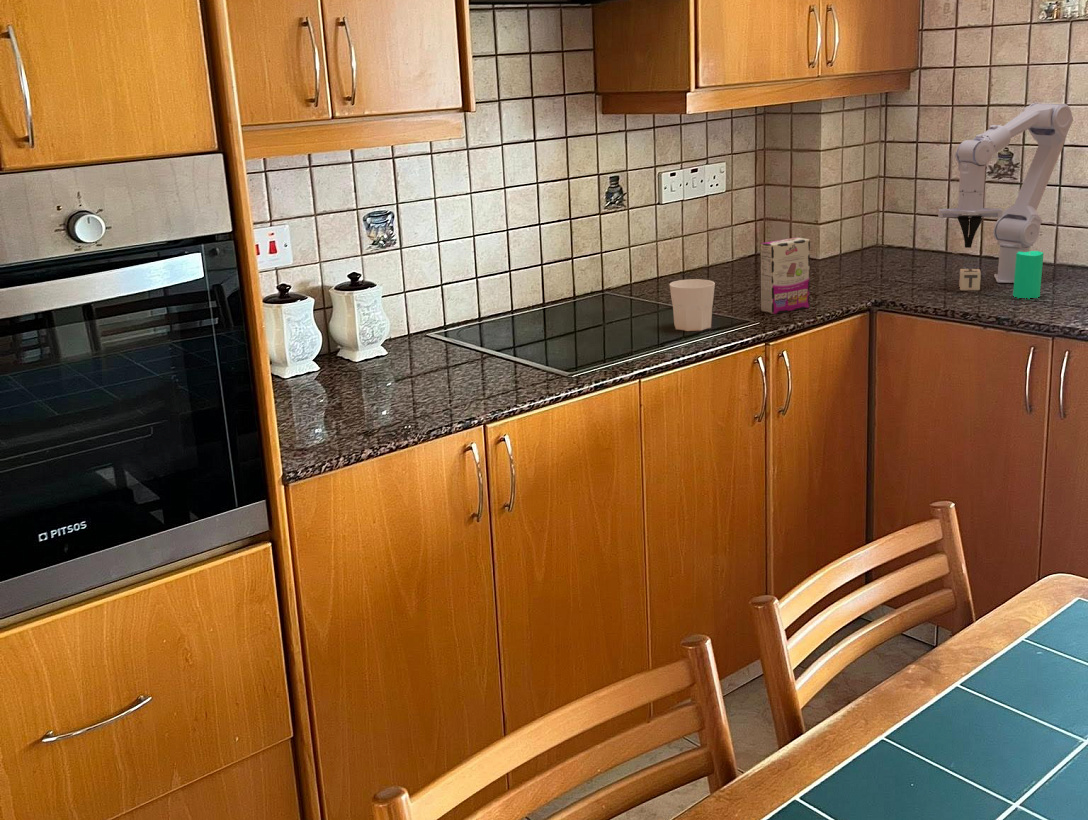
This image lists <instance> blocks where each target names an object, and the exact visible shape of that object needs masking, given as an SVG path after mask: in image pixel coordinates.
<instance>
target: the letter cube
mask: <svg viewBox="0 0 1088 820" xmlns="http://www.w3.org/2000/svg"><path fill="white" fill-rule="evenodd" d="M981 274H982V272H981V270H980V268H960V269H959V282H958V284H959V286H958V287H960V288H959V290H960V291H980V290H981Z"/></svg>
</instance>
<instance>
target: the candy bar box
mask: <svg viewBox="0 0 1088 820" xmlns="http://www.w3.org/2000/svg"><path fill="white" fill-rule="evenodd" d="M810 244H811V239H810V238H803V237H797V236H796V237H792V238H786V239H778V240H774V241H773V240H772V241H767V242H761V243H760V246H759V247H760V311H761V312H763V313H767V314H771V315H777V314H781V313H786V312H792V311H797V310H802V309H803V310H804V309H808V308H810V296H811V295H810V289H811V288H810V286H811V284H810V281H811V279H810V275H811V274H810V270H811V269H810V268H811V267H810V263H811V261H810V260H811V256H810V255H811V252H810V251H811V249H810V248H811V245H810Z"/></svg>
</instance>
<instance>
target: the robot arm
mask: <svg viewBox="0 0 1088 820" xmlns="http://www.w3.org/2000/svg"><path fill="white" fill-rule="evenodd" d="M1073 121H1074V118H1073V113H1072V110H1071V108H1070V106H1069V105H1068V104H1067V103H1039V102H1038V103H1037V102H1033V103H1031V104H1029V105H1027V106H1025V107H1024V108H1023V110H1022V111H1021V113H1019V114H1018V115H1016V116H1015V117H1013V118H1012V119H1011V120H1009V121H1008V122H1007V123H1005V124H1004V125H1002V124H991V125H990V126H989V129H987V130H985V131H983V132H982V133H980V134H979V133H978V134H976V135H975V137H974V138H973V139H965V140H963V141H962V142H961V143H960V144H959V145H958V146H957V148H956V152H955V154H954V155H955V160H956V161H957V164H958V165H957V166H958V167H957V169H958V171H959V183H958V185H959V186H958V202H957V208H956V207H955V208H953V207H952V208H938V213H937V214H938V216H937V218H938V219H943V218H957V221H958V222H959V223H958V224H959V225H960V229H961V231H962V235H963V240H964V248H966V249H968V248H969V249H970V248H972V245H973V241H974V238H975V235H976V233H977V231H978V229H979V227H980V226H981V223H982V221H983V218H999V219H997V221H996V222H995V224H994V227H993V237H994V239H995V240H996V241H997V245H999V252H998V253H999V254H998V269H997V273H994V275H993V276H994V279H995V280H996V283H1000V284H1001V283H1002V284H1003V283H1004V284H1007V283H1008V284H1012V283H1013V284H1014V275H1015V263H1016V253H1018V252H1019V251H1020V252H1029V251H1031V249H1030V246H1031V247H1034V244H1035V243H1036V241H1037V240H1038V238H1039V236H1040V228H1041V224H1042V222H1043V219H1042V217H1041V216H1040V214H1039V213H1038V211H1037V210H1038V208H1039V205H1040V203H1041V200H1042V198H1043V196H1044V192H1045V190H1046V188H1047V186H1048V184H1049V181H1050V178H1051V176H1052V174H1053V171H1054V169H1055V166H1056V164H1057V161H1058V160H1059V156H1060V155H1061V152H1062V150H1063V147H1064V145H1065V141H1066V138H1067V135H1068V133H1069V131H1070V128H1071V126H1072V124H1073ZM1025 131H1028V132H1029V134H1030V135H1031V136H1032V138H1033V140H1034V141H1036V143H1037V145H1038V146H1037V149H1036V151H1035V154H1034V156H1033V157H1032V158H1033V159H1032V160H1031V162H1030V166H1029V168H1028V170H1027V171H1026V172H1027V173H1026V175H1025V177H1024V180H1023V182H1022V185H1021V187H1020V190H1019V192H1018V194H1017V197H1016V198H1015V202H1014V204H1012V205H1010V206H1009V207H1007V208H1006V209H1004V210H1003V209H1002V208H1000V207H999V208H994V207H993V208H990V207H984V193H985V180H986V179H985V178H986V165H988V164H989V163H990V161H991V159H992V157H993V156H994V155H995V154H997V153H998V152H999V151H1001V150H1003V149H1004V148H1006V147H1007V146H1009V145H1010V143H1011V141H1012V140H1011V139H1012V138H1014V137H1016V136H1017V135H1019V134H1022V133H1023V132H1025Z"/></svg>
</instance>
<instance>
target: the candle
mask: <svg viewBox="0 0 1088 820" xmlns="http://www.w3.org/2000/svg"><path fill="white" fill-rule="evenodd" d="M1031 248H1032V246H1030V251H1029V252H1020V251H1019V252H1018V253H1016V263H1015V275H1014V283H1013V289H1012V297H1013V296H1014V297H1013V298H1015V297H1017V298H1016V299H1019V298H1025V299H1024V300H1031V299H1030V298H1037V299H1039V298H1038V297H1041V289H1042V288H1041V286H1042V276H1043V275H1042V274H1043V267H1044V266H1043V263H1044V252H1043V251H1040V250H1039V251H1038V250H1031ZM1026 298H1028V299H1026Z"/></svg>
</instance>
